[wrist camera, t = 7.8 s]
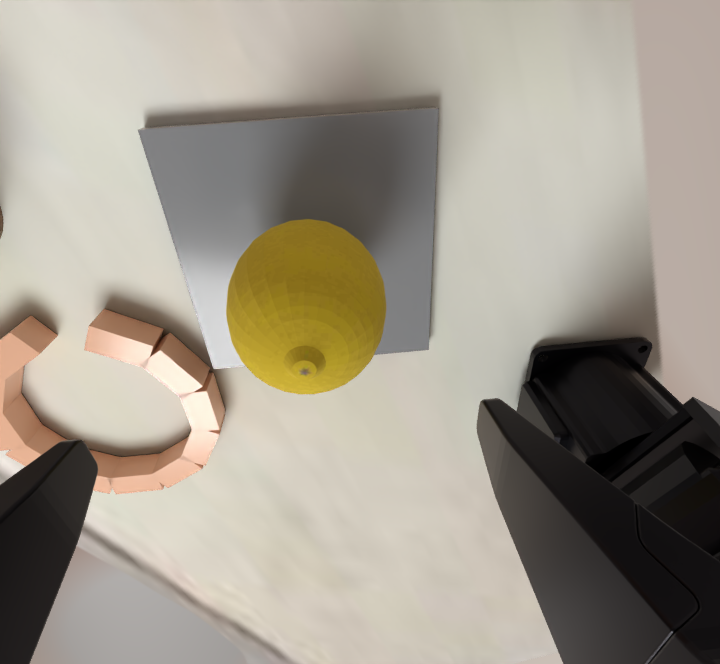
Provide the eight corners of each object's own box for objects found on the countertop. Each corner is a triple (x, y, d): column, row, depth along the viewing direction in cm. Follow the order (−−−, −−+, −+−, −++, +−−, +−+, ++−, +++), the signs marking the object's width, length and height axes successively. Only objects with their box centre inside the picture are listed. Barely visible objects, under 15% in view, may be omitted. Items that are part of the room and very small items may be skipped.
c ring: (190, 301, 20) (181, 317, 18) (241, 461, 26) (237, 482, 24) (-59, 322, 19) (-86, 340, 18) (54, 480, 25) (39, 501, 24)
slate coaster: (434, 107, 16) (438, 108, 15) (426, 343, 22) (428, 349, 21) (143, 127, 16) (137, 129, 15) (215, 362, 22) (213, 369, 21)
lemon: (241, 302, 19) (196, 430, 12) (254, 180, 16) (205, 261, 10) (357, 322, 20) (375, 450, 13) (389, 210, 17) (430, 303, 11)
